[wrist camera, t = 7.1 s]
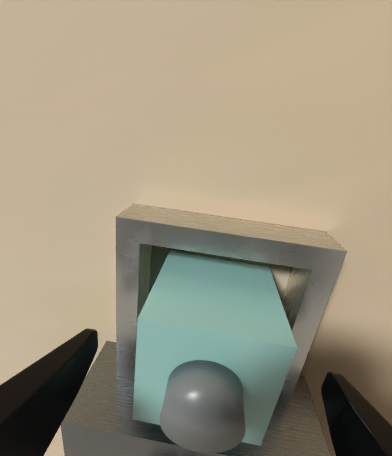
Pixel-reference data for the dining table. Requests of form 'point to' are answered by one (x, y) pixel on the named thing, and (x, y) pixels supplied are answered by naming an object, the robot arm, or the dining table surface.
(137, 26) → the dining table surface
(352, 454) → the robot arm
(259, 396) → the mint block with knob
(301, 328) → the square frame
